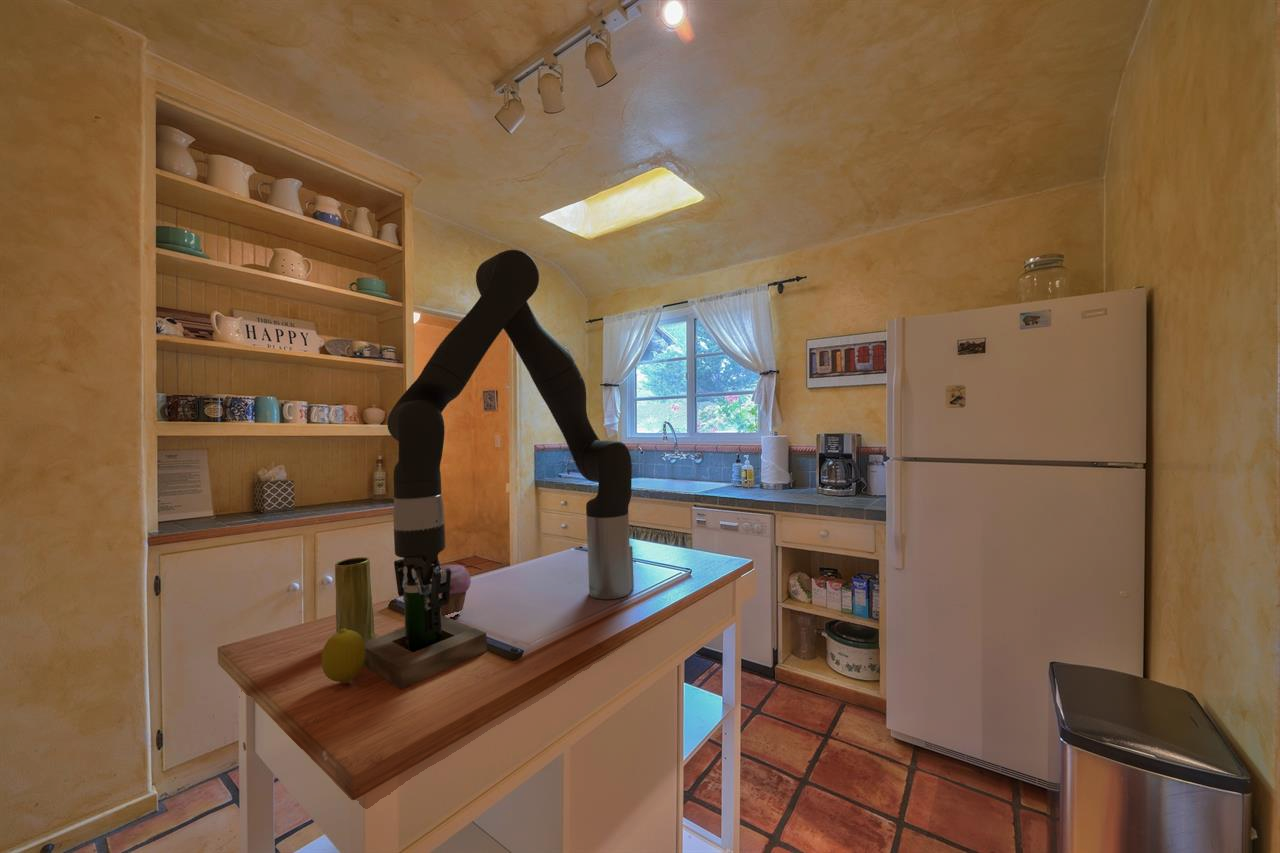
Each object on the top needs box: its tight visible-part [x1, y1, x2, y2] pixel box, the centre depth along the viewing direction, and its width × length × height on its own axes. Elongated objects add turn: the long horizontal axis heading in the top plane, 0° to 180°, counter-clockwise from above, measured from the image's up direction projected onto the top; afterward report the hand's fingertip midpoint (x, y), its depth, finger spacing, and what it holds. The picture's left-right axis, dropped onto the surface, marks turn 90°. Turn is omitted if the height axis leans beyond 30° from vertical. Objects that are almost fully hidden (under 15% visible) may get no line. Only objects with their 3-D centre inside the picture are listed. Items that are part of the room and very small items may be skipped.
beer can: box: [403, 581, 442, 652], centre depth 78 cm, size 5×5×12 cm
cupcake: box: [440, 564, 472, 616], centre depth 96 cm, size 9×9×10 cm
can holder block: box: [363, 615, 488, 690], centre depth 78 cm, size 14×14×3 cm
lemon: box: [321, 629, 366, 685], centre depth 71 cm, size 6×6×8 cm
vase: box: [334, 556, 376, 642], centre depth 85 cm, size 6×6×14 cm
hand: (423, 626), depth 79 cm, fingers closed on beer can, 5 cm apart
